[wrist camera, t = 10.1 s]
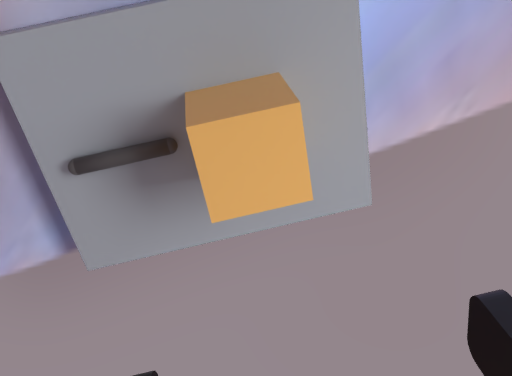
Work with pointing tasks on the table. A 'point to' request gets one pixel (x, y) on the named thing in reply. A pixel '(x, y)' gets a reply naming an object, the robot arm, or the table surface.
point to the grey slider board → (180, 113)
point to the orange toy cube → (248, 146)
